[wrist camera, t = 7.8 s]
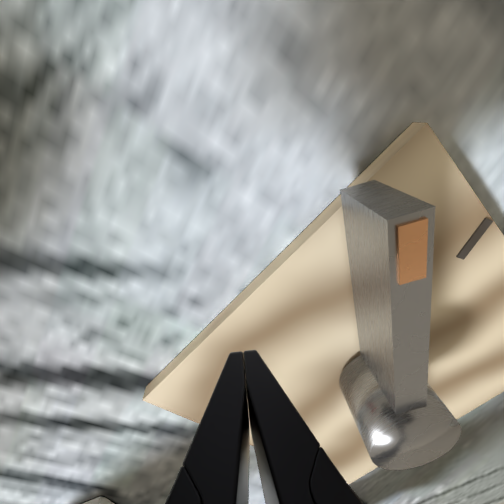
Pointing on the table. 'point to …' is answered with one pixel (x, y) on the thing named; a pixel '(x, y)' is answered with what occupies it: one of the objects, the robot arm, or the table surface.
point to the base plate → (343, 310)
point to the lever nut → (393, 328)
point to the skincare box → (99, 501)
